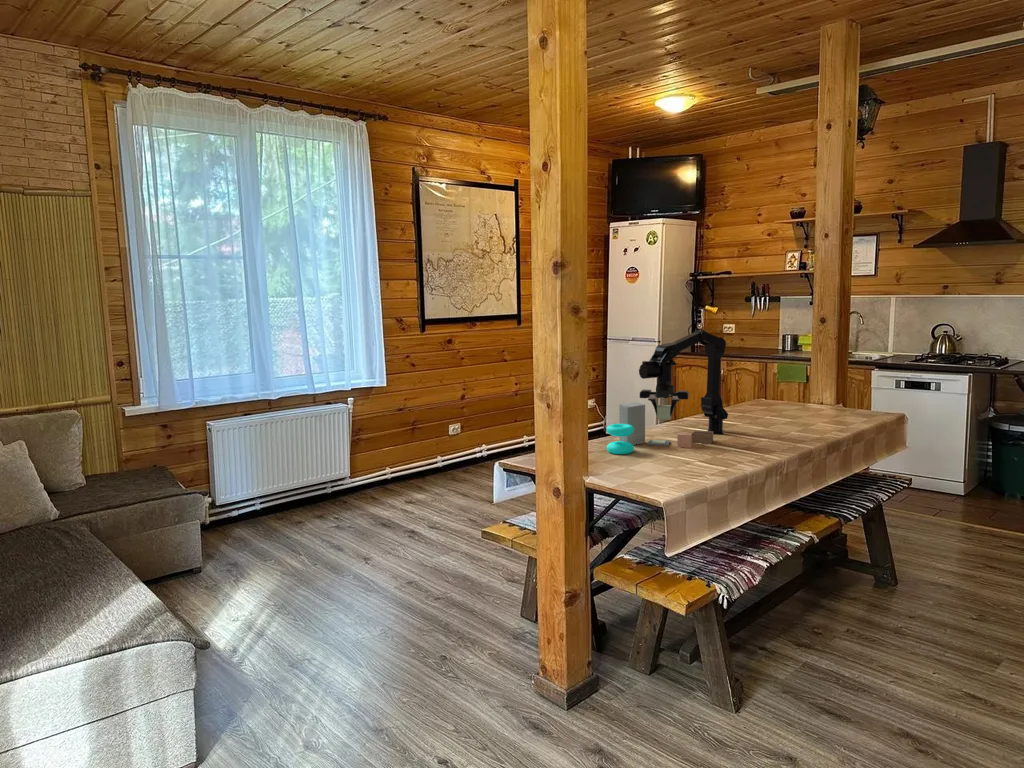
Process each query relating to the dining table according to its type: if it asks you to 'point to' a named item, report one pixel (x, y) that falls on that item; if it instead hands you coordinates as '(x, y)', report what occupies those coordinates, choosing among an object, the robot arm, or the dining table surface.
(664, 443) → the card
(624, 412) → the skincare box
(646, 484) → the dining table surface
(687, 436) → the terracotta cube
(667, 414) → the sage cube
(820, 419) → the dining table surface
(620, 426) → the donuts
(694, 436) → the walnut block
